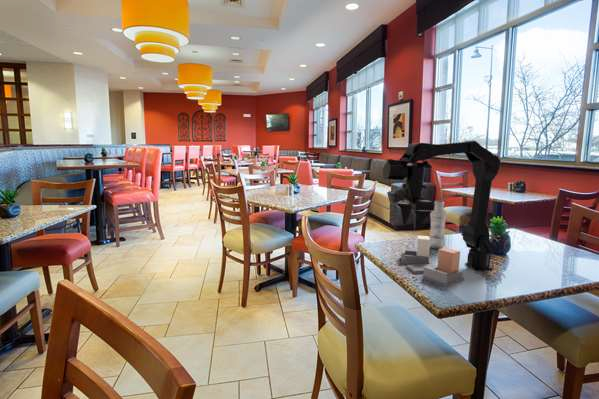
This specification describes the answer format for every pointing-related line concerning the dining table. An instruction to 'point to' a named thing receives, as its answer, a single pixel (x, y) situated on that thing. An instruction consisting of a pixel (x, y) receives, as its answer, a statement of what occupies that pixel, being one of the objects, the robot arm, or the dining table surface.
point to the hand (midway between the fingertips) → (409, 226)
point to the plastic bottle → (437, 226)
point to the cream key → (423, 246)
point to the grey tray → (429, 269)
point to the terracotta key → (448, 260)
